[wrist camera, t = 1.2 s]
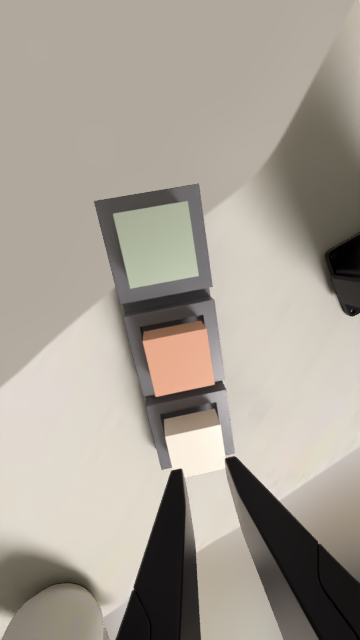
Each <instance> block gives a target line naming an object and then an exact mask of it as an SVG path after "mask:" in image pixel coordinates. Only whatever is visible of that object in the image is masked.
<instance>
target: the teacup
mask: <svg viewBox="0 0 360 640" xmlns="http://www.w3.org/2000/svg"><path fill="white" fill-rule="evenodd" d="M2 640H110V639H109V637H108V633H107V630H106V628H104V627H103V615H102V612H101V608H100V606H99V604H98V603H97V602H96V600H95V599H94V598H93V596H92V595H91V593H90V592H89V591H88V590H87V589H85V588H84V587H82V586H80V585H77V584H72V583H62V584H56V585H52V586H50V587H48V588H46V589H44V590H42V591H41V592H40V593H38V594H37V595H35V596H34V597H32V598H31V599H30V600H28V601H27V602H26V603H25V604H24V605H23V606H22V607H21V608H20V609H19V610H18V611H17V613H16V614H15V615H14V617H13V618H12V620H11V622H10V623H9V625H8V627H7V629H6V631H5V633H4V635H3V638H2Z"/></svg>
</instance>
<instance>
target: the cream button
mask: <svg viewBox="0 0 360 640" xmlns="http://www.w3.org/2000/svg"><path fill="white" fill-rule="evenodd" d="M164 428H165V439H166V443H167V448H168V452H169V456H170V460H171V465H172V469H173V470H175V469H180V468H181V469H182V470H183V473H184V478H185V477H189V476H194V475H198V474H203V473H207V472H211V471H216V470H220V469H224V468H226V467H225V458H226V457H225V450H224V444H223V437H222V430H221V424H220V422H219V419H218V416H217V414H216V411H215V409H210V410H205V411H201V412H196V413H191V414H187V415H182V416H177V417H173V418H168V419H164Z"/></svg>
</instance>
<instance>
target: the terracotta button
mask: <svg viewBox="0 0 360 640" xmlns="http://www.w3.org/2000/svg"><path fill="white" fill-rule="evenodd" d="M143 345H144V349H145V354H146V358H147V362H148V366H149V371H150V375H151V379H152V383H153V388H154V392H155V396H156V397H158V396H163V395H168V394H172V393H177V392H182V391H187V390H191V389H196V388H201V387H206V386H210V385H215V382H214V376H213V369H212V362H211V355H210V349H209V342H208V335H207V329H206V327H205V326H204V324H203V323H202V321H196V322H191V323H186V324H181V325H176V326H171V327H165V328H160V329H155V330H150V331H145V332H144V335H143Z"/></svg>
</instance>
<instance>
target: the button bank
mask: <svg viewBox="0 0 360 640" xmlns="http://www.w3.org/2000/svg"><path fill="white" fill-rule="evenodd" d="M184 201H188V206H189V213H190V220H191V226H192V233H193V240H194V247H195V254H196V260H197V267H198V274H199V276H196V277H191V278H185V279H180V280H174V281H169V282H164V283H158V284H153V285H148V286H142V287H137V288H132V289H130V285H129V281H128V277H127V272H126V268H125V264H124V260H123V255H122V251H121V247H120V242H119V238H118V234H117V230H116V225H115V221H114V217H113V214H114V213H120V212H126V211H132V210H137V209H143V208H149V207H155V206H161V205H167V204H173V203H178V202H184ZM94 203H95V207H96V211H97V215H98V219H99V223H100V227H101V231H102V235H103V239H104V243H105V247H106V251H107V254H108V259H109V263H110V266H111V271H112V274H113V279H114V282H115V286H116V290H117V294H118V298H119V302H120V304H123V305H124V309H125V315H124V317H123V318H124V322H125V326H126V330H127V334H128V338H129V342H130V346H131V350H132V354H133V358H134V362H135V366H136V370H137V374H138V378H139V382H140V386H141V390H142V394H143V397H144V396H146V410H147V413H148V417H149V421H150V425H151V429H152V433H153V437H154V441H155V445H156V449H157V453H158V457H159V461H160V465H161V469H162V470H163V469H168V468H172V465H171V460H170V456H169V452H168V448H167V443H166V439H165V428H164V419H168V418H173V417H177V416H182V415H187V414H191V413H196V412H201V411H205V410H210V409H215V411H216V414H217V416H218V419H219V422H220V424H221V430H222V437H223V444H224V450H225V455H230V454H234V453H235V452H234V444H233V437H232V429H231V422H230V414H229V407H228V399H227V392H226V388H225V386H224V384H223V382H222V380H225V376H224V369H223V361H222V354H221V346H220V339H219V331H218V324H217V316H216V309H215V301H214V299H213V298H212V297H210V291H209V287H213V286H212V278H211V271H210V263H209V256H208V248H207V241H206V233H205V226H204V218H203V211H202V203H201V196H200V188H199V184H194V185H188V186H182V187H176V188H170V189H164V190H158V191H152V192H146V193H140V194H134V195H128V196H122V197H117V198H110V199H104V200H98V201H95V202H94ZM196 321H202V323H203V324H204V326H205V327H206V329H207V335H208V342H209V349H210V355H211V362H212V369H213V376H214V382H215V385H210V386H206V387H201V388H196V389H191V390H187V391H182V392H177V393H172V394H168V395H163V396H158V397H156V396H155V392H154V388H153V383H152V379H151V375H150V371H149V366H148V362H147V358H146V354H145V349H144V345H143V335H144V332H145V331H150V330H155V329H160V328H165V327H171V326H176V325H181V324H186V323H191V322H196Z"/></svg>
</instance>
